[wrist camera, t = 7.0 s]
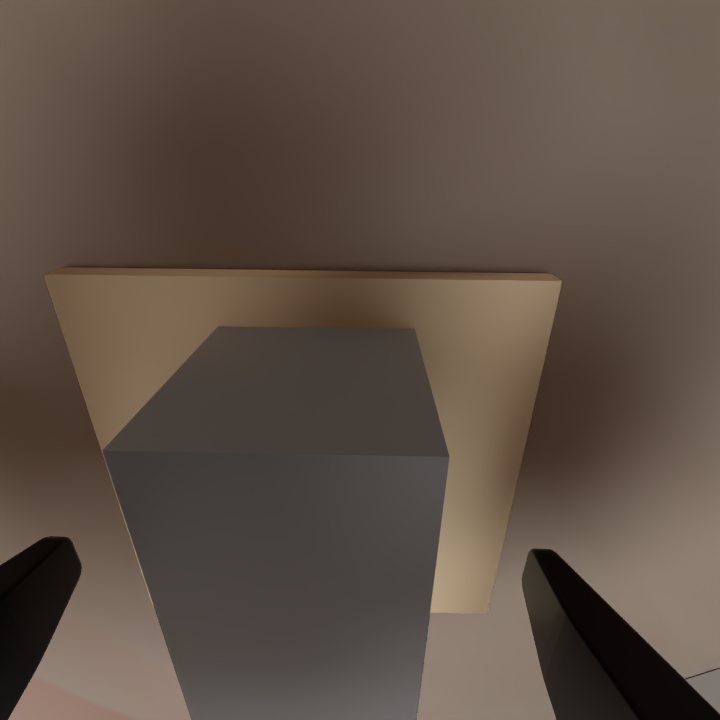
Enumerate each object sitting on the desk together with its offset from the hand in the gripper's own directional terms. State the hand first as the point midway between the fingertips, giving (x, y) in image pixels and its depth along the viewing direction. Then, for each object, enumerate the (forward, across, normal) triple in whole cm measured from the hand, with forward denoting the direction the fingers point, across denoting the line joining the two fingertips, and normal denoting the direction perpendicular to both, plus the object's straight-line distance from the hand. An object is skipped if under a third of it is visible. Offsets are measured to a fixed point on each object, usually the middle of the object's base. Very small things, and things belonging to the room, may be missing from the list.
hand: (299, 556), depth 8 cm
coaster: (+3, 0, 0) cm, 3 cm away
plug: (0, +2, +1) cm, 2 cm away
